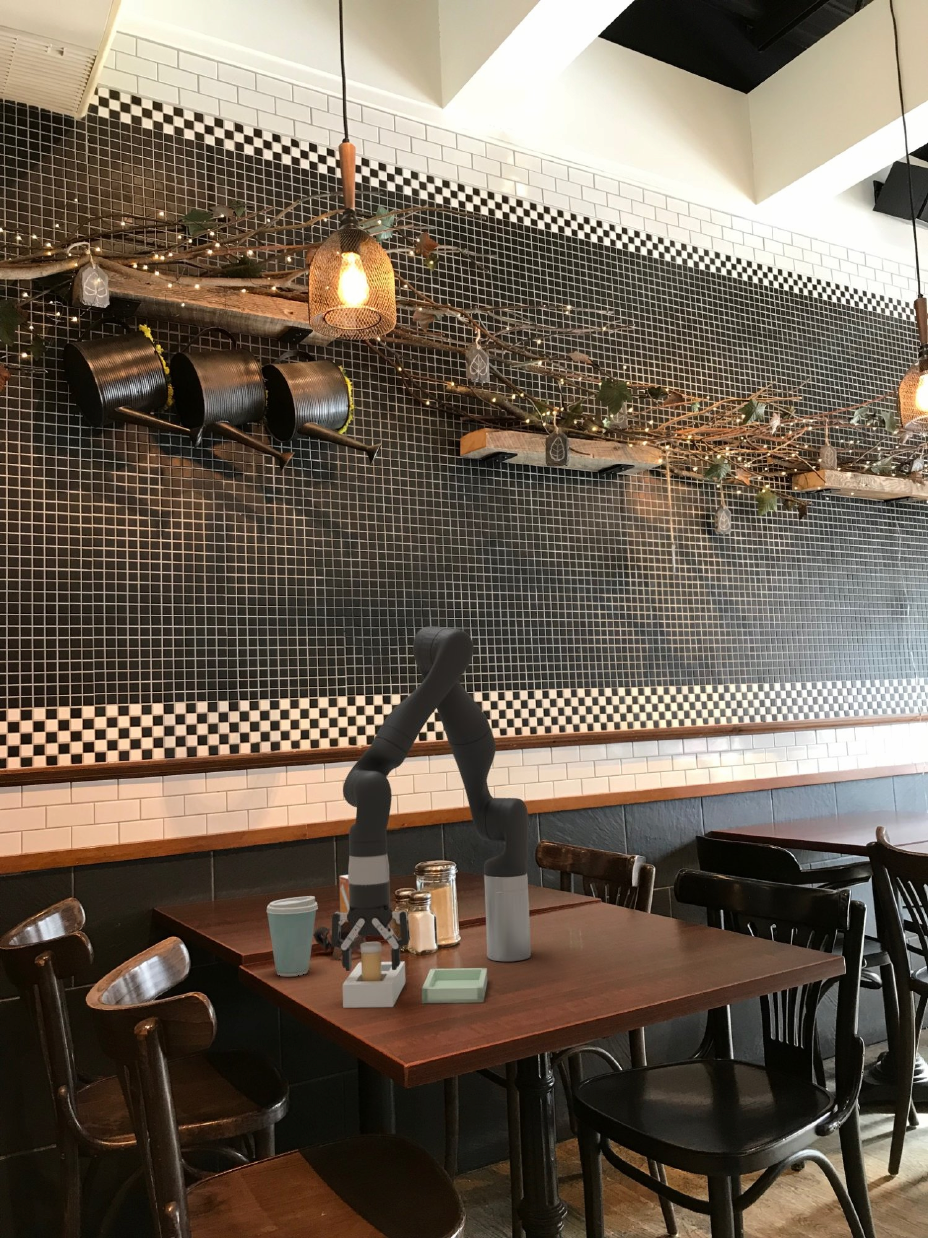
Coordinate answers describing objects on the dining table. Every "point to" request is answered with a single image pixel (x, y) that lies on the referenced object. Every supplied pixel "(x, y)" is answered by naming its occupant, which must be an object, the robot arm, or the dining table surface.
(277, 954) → the disposable coffee cup
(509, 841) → the robot arm
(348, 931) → the pottery mug
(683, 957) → the dining table surface
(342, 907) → the small box
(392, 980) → the frame
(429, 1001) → the parts tray
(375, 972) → the fuse
